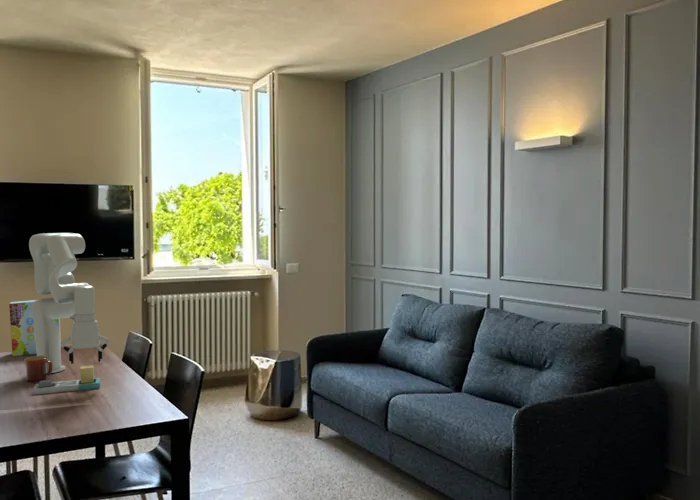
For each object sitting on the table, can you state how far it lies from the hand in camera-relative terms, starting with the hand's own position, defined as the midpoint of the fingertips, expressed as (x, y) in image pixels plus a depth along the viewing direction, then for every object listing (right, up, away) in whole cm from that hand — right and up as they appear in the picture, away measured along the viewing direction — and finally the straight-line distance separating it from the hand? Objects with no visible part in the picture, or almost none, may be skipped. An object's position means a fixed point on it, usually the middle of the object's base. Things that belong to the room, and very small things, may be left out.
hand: (85, 362), depth 252 cm
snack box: (-52, -8, +70) cm, 87 cm away
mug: (-22, -11, +10) cm, 27 cm away
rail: (-6, -11, -2) cm, 13 cm away
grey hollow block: (-13, -10, -5) cm, 17 cm away
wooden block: (+1, -9, 0) cm, 9 cm away
